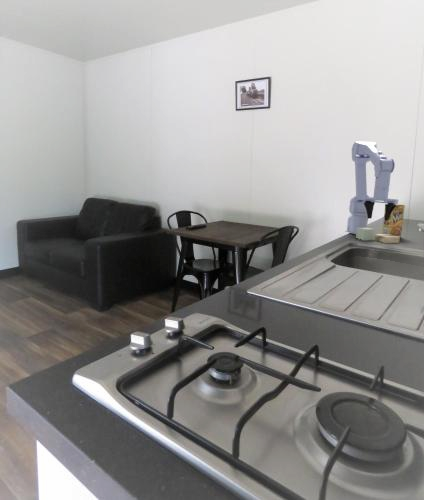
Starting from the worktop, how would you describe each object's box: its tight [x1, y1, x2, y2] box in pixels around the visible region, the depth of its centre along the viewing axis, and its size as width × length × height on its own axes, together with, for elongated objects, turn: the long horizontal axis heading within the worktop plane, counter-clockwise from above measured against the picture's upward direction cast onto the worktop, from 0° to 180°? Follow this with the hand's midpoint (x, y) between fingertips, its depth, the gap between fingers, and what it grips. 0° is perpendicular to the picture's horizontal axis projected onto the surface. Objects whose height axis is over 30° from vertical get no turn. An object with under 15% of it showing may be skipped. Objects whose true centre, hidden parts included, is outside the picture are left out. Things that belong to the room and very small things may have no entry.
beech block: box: [374, 233, 401, 244], centre depth 165 cm, size 7×7×3 cm
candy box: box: [381, 203, 406, 238], centre depth 175 cm, size 9×4×15 cm, turn 118°
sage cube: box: [355, 227, 375, 241], centre depth 169 cm, size 5×5×5 cm
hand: (377, 219), depth 164 cm, fingers open, 7 cm apart
